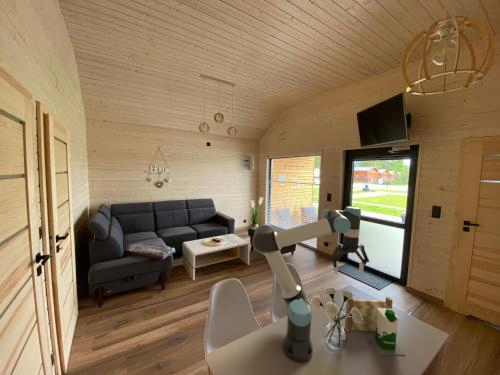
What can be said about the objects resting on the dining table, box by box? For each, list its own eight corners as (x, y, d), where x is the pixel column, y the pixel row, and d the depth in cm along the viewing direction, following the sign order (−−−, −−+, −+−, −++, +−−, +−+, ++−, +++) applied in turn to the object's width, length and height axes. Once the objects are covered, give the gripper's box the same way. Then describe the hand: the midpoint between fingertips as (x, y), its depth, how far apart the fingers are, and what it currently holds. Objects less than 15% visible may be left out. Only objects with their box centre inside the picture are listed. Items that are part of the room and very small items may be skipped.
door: (352, 332, 123) (355, 302, 121) (350, 328, 126) (352, 299, 124) (384, 333, 123) (387, 303, 121) (381, 329, 126) (383, 300, 124)
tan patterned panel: (347, 331, 124) (349, 298, 122) (344, 326, 127) (346, 295, 125) (389, 332, 123) (392, 300, 122) (385, 328, 127) (388, 296, 125)
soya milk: (380, 350, 111) (383, 314, 109) (372, 336, 120) (375, 302, 118) (398, 352, 110) (402, 315, 108) (388, 338, 119) (391, 304, 117)
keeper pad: (379, 354, 109) (379, 354, 109) (366, 334, 122) (366, 334, 122) (405, 355, 109) (405, 354, 109) (389, 335, 122) (389, 334, 121)
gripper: (330, 237, 111) (327, 276, 113) (378, 238, 111) (375, 277, 113) (325, 232, 119) (323, 269, 121) (370, 234, 118) (367, 270, 120)
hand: (348, 273), depth 117 cm, fingers open, 13 cm apart
